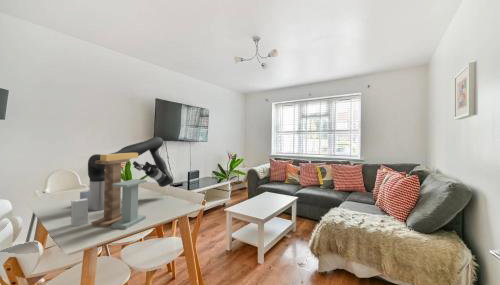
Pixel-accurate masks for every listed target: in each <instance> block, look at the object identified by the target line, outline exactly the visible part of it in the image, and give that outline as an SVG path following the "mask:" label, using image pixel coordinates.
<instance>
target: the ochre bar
mask: <svg viewBox="0 0 500 285" xmlns="http://www.w3.org/2000/svg"><path fill="white" fill-rule="evenodd" d="M138 158H139V156H138V153H120V154H111V153H104V154H101V155H100V161H111V160H121V159H129V160H131V159H138Z"/></svg>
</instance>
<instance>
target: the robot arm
mask: <svg viewBox="0 0 500 285" xmlns="http://www.w3.org/2000/svg"><path fill="white" fill-rule="evenodd" d="M163 145H164V139H163V138H162V137H159V136H154V137H151V138H150V139H147V140H144V141H140V142H136V143H133V144H130V145H126V146H124V147H121V149H119V150H118V151H115V152H112V153H110V154H120V153H138V157H139V156H141V155H143V154H144V153H146V152H148V151H149V153H150V155H151V157H152V159H153V162H154V164H152V163H150V162H148V161H146V162H144V164H143V163H138V162H137V161H136V160H134V161H133V163H132V165H133V168H135V169H136V170H137V171H139V172H140V171H143V172H144V174H145V175H146V176H148V178H150V179H152V180H154V181H156V183H157V184H158V186H159V187H161V188H164V187H166V186H168V185H169V186H170V185H171V184H173V183H174V178H173V176H172V175H171V174H170V172H169V171H168V167H167V165H166V161H165V160H164V159H163V158H162V157H161V155H160V153H159V149H161V148H162V147H163ZM100 155H102V154H95V153H94V154H93V155H91V156H90V157H89V158H88V161H87V175H88V178H89V193H88V211H93V212H94V211H101V210H104V187H105V164H95V161H98V160H100Z"/></svg>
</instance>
